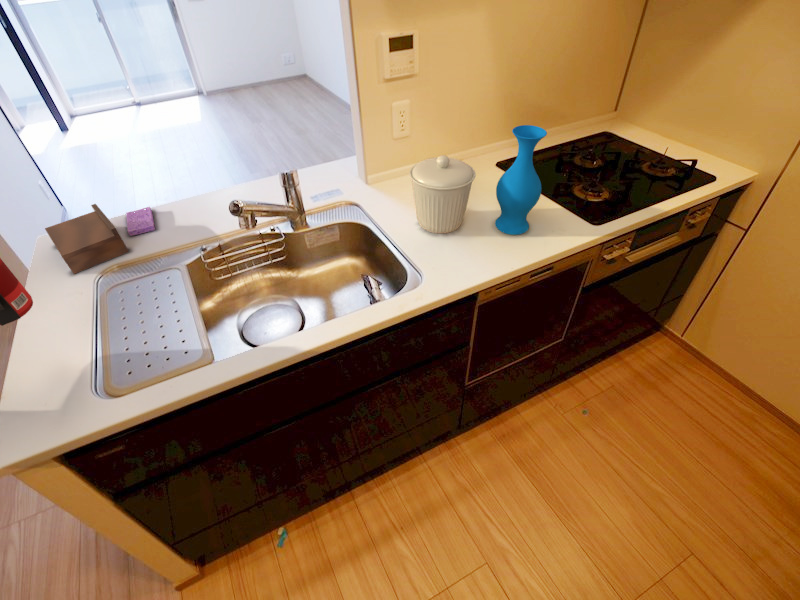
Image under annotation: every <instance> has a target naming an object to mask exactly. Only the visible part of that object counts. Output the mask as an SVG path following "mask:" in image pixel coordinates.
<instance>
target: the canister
mask: <svg viewBox="0 0 800 600" xmlns="http://www.w3.org/2000/svg"><path fill="white" fill-rule="evenodd" d="M476 174H477V173H476V170H475V169H474V168H473V166H471V165H470V164H469V163H466V162H465V161H463V160H461V159H458V158H453V157H449V156H447V155H446V154H445V155H443V154H441V155H439V156H436V157H430V158H426V159H423V160H421V161H419V162H416V163H415V164H414V165H412V167H410V169H409V173H408V175H409V178H410V180H411V183H412V184H411V185H412V191H413V192H412V193H413V201H414V202H413V203H414V210H415V215H416V220H417V223H418V225H419V226H420V227H421V228H422V229H423V230H425V231H426V232H429V233H433V234H443V235H444V234H448V233H451V232H454V231H456V230H457V229H458V228H459V227H461V225H462V223H463V221H464V218H465V214H466V211H467V208H468V207H467V206H468V202H469V197H470V193H471V189H472V185H473V182H474V180H475V179H476V177H477V175H476Z"/></svg>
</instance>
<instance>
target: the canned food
mask: <svg viewBox="0 0 800 600" xmlns="http://www.w3.org/2000/svg"><path fill="white" fill-rule="evenodd" d="M0 294H1V295H2V296H3V297H4V298H5V300H6V301H7V302H8V303H9V304H10V305H11V306H12V308H13V309H14V310H15V311H16V312H17V313H18V314H19V316H20V319H22V317H24V316H25V315H27V313H29V312H30V310H31V309H32V307H33V305H34V301H33V298H32V295H31V294H30V293H29V292H28V290H27V289H26V288H25V286H23V284H22V282H20V280H19V279H18V278H17V277H16V275H15V274H14V273H13V272H12V270H11V269H10V268H9V267H8V265H7V264H6V263H5V262H4V260H2V258H1V257H0ZM11 323H12V322H10V323H9V324H11Z"/></svg>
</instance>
